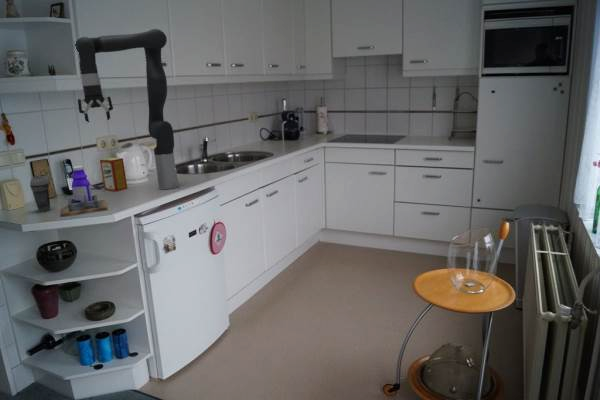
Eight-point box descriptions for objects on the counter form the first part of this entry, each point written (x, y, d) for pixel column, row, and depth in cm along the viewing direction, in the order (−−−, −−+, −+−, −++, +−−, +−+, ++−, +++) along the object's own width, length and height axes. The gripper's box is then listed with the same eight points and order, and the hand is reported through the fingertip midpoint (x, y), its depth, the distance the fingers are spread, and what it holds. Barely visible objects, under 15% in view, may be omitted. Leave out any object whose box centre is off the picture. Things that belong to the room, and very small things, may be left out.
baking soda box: (104, 190, 244) (99, 159, 240) (115, 187, 249) (110, 156, 245) (116, 191, 239) (111, 159, 235) (127, 188, 244) (122, 157, 240)
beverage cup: (44, 208, 213) (35, 163, 208) (57, 208, 211) (49, 163, 206) (31, 212, 206) (21, 166, 202) (44, 213, 204) (35, 166, 199)
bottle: (95, 204, 210) (88, 164, 205) (90, 207, 204) (83, 167, 200) (78, 205, 209) (71, 166, 205) (73, 208, 204) (66, 168, 200)
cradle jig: (105, 202, 217) (104, 193, 216) (107, 209, 203) (106, 200, 202) (62, 208, 211) (60, 199, 210) (60, 216, 196) (58, 207, 195)
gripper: (107, 83, 220) (114, 118, 224) (74, 85, 214) (81, 122, 218) (109, 83, 213) (115, 119, 217) (74, 85, 207) (81, 123, 212)
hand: (98, 121), depth 218 cm, fingers open, 8 cm apart
